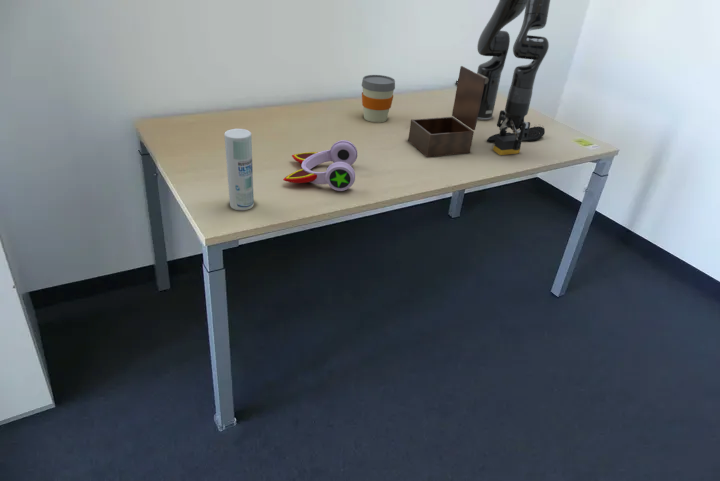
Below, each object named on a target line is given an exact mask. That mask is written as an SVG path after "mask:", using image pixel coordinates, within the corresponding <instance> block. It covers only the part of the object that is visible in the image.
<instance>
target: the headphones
mask: <svg viewBox="0 0 720 481" xmlns="http://www.w3.org/2000/svg"><path fill="white" fill-rule="evenodd" d="M291 157H292V159H293V160H294V161H296V162H297V163H299V164H300V165H301V168H300V169H298V170H296V171H295V170H294V171H293V172H292V173H290V174H287V176H285V177H284V178H283V181H285V182H288V183H292V184H307V183H311V184H314V185H328V186H329V188H331V189H332V190H334V191H337V192H344V191H346V190H348V189H350V188H351V187H352V186H353V185H354V184H355V182H356V172H355V169H354V168H353V166H352V165H353V164H354V163H355V162H356V161H357V159H358V149H357V147H356V145H355V144H354V143H353V142H351V141H349V140H347V139H341V140H338V141H336V142H333V144H332V145H331V147H330V149H326V150H325V149H324V150H321V151H319V152H318V151H307V152H299V153H295V154H292V155H291ZM329 162H332V163H330V164H329V166H328V167H327V168H326V170H325V171H313V170H312V169H313V168H315V167H316V166H318V165H321V164H324V163H329Z"/></svg>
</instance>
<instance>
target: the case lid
mask: <svg viewBox="0 0 720 481" xmlns="http://www.w3.org/2000/svg"><path fill="white" fill-rule="evenodd" d="M488 81H489V79H488V78H487V77H485V76H483V75H481V74H479V73H477V72H475V71H473V70H470V69H469V68H467V67H465V66H463V65H461V66H460V68H459V74H458V84H457V85H456V91H455V96H454V102H453V107H452V112H451V117H453V118H455V119H456V120H458V121H459V122H461V123H462V124H464V125H465V126H467V127H468V128H469V129H471V130H472V131H476V128H477V123H478V119H477V118H478V113H479V109H480V104H481V99H482V94H483V89H484V84H486V83H488Z"/></svg>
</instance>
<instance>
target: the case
mask: <svg viewBox="0 0 720 481" xmlns="http://www.w3.org/2000/svg"><path fill="white" fill-rule="evenodd" d="M474 133H475V130H472V129H471V128H469V127H468V126H466V125H465V124H463V123H462V122H460V121H459V120H458V119H456V118H455V117H453V116H443V117H430V118H429V117H428V118H415V119H410V123H409V131H408V139H407V141H408V142H409V143H410V144H411V145H412V146H414V147H415V148H416V149H417V150H418V151H419V152H421V153H422V154H423V155H424V156H425V157H426V158H432V157H434V158H435V157H441V156H442V157H443V156H454V155H463V154H470V153H471V149H472V143H473V138H474Z"/></svg>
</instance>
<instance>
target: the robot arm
mask: <svg viewBox="0 0 720 481" xmlns="http://www.w3.org/2000/svg"><path fill="white" fill-rule="evenodd" d="M550 5H551V0H498V2H497V5H496V7H495V8H494V11H493V13H492V15H491V17H490V18H489V20H488V21H487V23H486V25H485V26H484V28H483V30H482V31H481V33H480V35H479V38H478V41H477V46H476V47H477V48H476V49H477V53H478V54H479V55H480V56H483V57H491V58H490V59H488V61H486V62H485V61H484V62H482V63H480V64H479V65H478V66H477V71H476V73H479V74H481V75H483V76H485V77H487V78H488V79H489V81H488V83H486V84H484V89H483V94H482V99H481V104H480V109H479V113H478V118H477V121H490V120H492V119H493V117H494V116H493V114H494V111H495V105H496V102H497V96H498V91H499V86H500V82H501V78H502V73H503V71H504V68H505V64H506V60H507V56H508V52H509V49H510V43H511V36H510V33H509V32H508V31H506V30H502V29H503V28H504V27H505V26H507V25H508V24H510V23H511V22H512V21H514V20H515V19H517V18H518V17H519V16H520V15H521V14H523V12H524V15H523V20H522V24H521V28H520V30H519V33H518V34H517V37H516V39H515V41H514V43H513V45H512V53H513V55H514V57H515V58H517V59H522V60H531V62H530V63H528V64H524V65H523V64H522V65H518V66H516V67H515V68H514V70H513V73H512V78H511V84H510V87H509V89H508V94H507V97H506V103H505V107H504V109H502V110H500V111H499V115H498V118H497V122H496V128H498V129H499V133H498V134H499V136H506V133H508V132H507V130H508V129H510V130H511V131H512V133H514V134H515V142H514V146H513V150H519V149H520V150H521V145H522V141H523V140H527V138H528V133H529V128H530V127H531V122H530V121H525V117H526V116H527V115H528V113H529V110H530V105H531V101H532V97H533V90H534V85H535V80H536V77H537V74H538V71H539V69H540V67H541V65H542V63H543V61H544V59H545V58H546V56H547V54H548V52H549V48H550V43H549V42H550V41H549V40H548V38H547V37H545V36H541V35H530V34H528V33H529V32H531V31H536V30H541V29H545V27H546V25H547V23H548V22H547V21H548V16H549V12H550ZM457 84H458V81H457V80H456V81H455V85H456V86H457ZM518 133H519V134H520V136H518ZM524 133H525V135H524V136H523V134H524Z"/></svg>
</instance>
